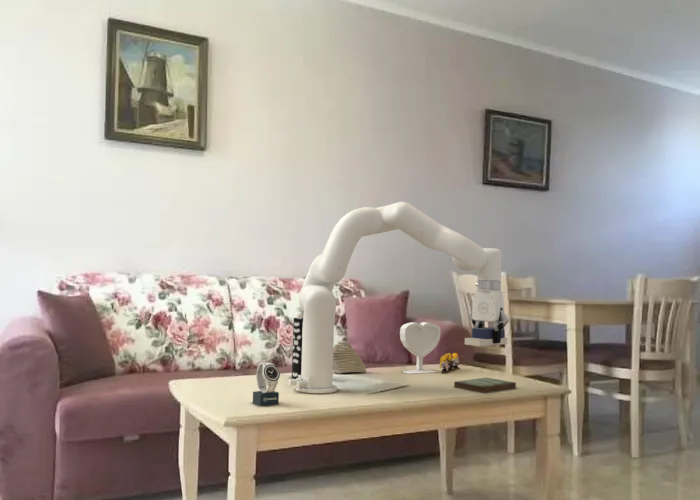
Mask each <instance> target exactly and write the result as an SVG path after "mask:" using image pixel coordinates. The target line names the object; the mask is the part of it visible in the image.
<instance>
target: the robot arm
mask: <svg viewBox="0 0 700 500" xmlns="http://www.w3.org/2000/svg"><path fill="white" fill-rule="evenodd" d="M397 230H400V231H401V232H402V233H404V234H405V235H407V236H409V237H410V238H411V239H413V240H415V241H416V242H418V243H419V244H421V245H422V246H424V247H426V248H428V249H431V250H434V251H439V252H441V253H444V254H447V255H449V256H451V261H452V264H453V265H454V266H455V267H456V268H457V269H459V270H461V271H477V277H476V278H477V280H476V282H475V283H474V284H475V285H474V286H475V287H476V289H475V290H474V294H473V299H472V305H471V306H472V307H471V309H472V310H471V313H470V314H469V316H468V319H469V320H470V321H471V323H472V325H473V326H474V327H473V328H484V325H485V322H487V323H492V326H493V328H494V329H495V331H493V343H500V342H501V331H502V330H503V329H505V327H506V325H507V324H508V323H509V322H510V318H509V317H508V316H507V314H506V313H505V298H504V293H503V291H502V250H501V249H500V248H496V247H495V248H493V247H482V246H480V245H479V244H477V243H476V242H474V241H473V240H471V239H470V238H468V237H467V236H464V235H463V234H461V233H459V232H457V231H455V230H453V229H451V228H449V227H448V226H446V225H443V224H441V223H439V222H437V221H436V220H435V219H433V218H432V217H430V216H429V215H427V214H426V213H424V212H423V211H421V210H420V209H418V208H417V207H415V206H414V205H412V204H411V203H408V202H406V201H398V202H394V203H391V204H387V205H383V206H379V207H372V206H364V207H359V208H355V209H353V210H351V211H349V212H347V213H345V214H344V215H343V216H342V217H341V218H340V219H339V220H338V221H337V222H336V223H335V225H334V227H333V228H332V230H331V233H330V234H329V237H328V240H327V242H326V244H325V247H324V248H323V251H322V253H321V254H319V255H317V256H316V257H315V258H314V259H313V261H312V262H311V264H310V267H309V269H308V270H307V271H308V272H307V274H306V276H305V279H304V282H303V284H302V287H301V289H300V292H299V295H298V303H299V307H300V308H301V310H302V311H303V316H302V318H303V329H302V366H301V375H298V378H296V379H292V378H289V379H287V385H288V387H294V386H295V390H296V391H297V392H300V393H305V394H331V393H335V392H337V391H338V386H337V385H336V384H333V380H334V379H333V377H334V376H333V374H334V371H333V347H334V343H335V342H334V340H335V339H334V338H335V337H334V336H335V334H334V333H335V320H336V319H335V318H336V310H337V300H336V296H335V295H334V293H333V290H334V287H335V284H336V283H339V282H340V281H342V280H343V278H344V277H345V275H346V272H347V269H348V266H349V264H350V262H351V258H352V255H353V253H354V250H355V249H356V246H357V245H358V242H359V241H360V240H361V239H362V238H363V237H366V236H372V235H377V234H378V235H379V234H383V233H387V232H391V231H397Z"/></svg>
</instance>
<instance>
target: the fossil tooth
mask: <svg viewBox="0 0 700 500" xmlns="http://www.w3.org/2000/svg"><path fill="white" fill-rule="evenodd" d="M366 372H367V367H366V364H365V363H364V361H363V360H362V358H361V357H360V355H359V354H358V353H357V352H356V351H355V349H354V347H353V346H352V345H351V343H350V342H348V341H346V340H340V341H337V344H334V345H333V373H335V374H339V375H340V374H344V373H361V374H362V373H363V374H364V373H366Z"/></svg>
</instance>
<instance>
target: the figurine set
mask: <svg viewBox="0 0 700 500" xmlns="http://www.w3.org/2000/svg"><path fill="white" fill-rule="evenodd" d="M459 362H460V361H459V353H458V352H453V353H452V354H451V352H448V353H444V355H441V357H440V360H439V368H440V370H441V374H446V373H450V372H453V371H457V370H460V369H461V368H460V367H459V366H460V363H459Z"/></svg>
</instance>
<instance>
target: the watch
mask: <svg viewBox="0 0 700 500" xmlns="http://www.w3.org/2000/svg"><path fill="white" fill-rule="evenodd" d="M281 375H282V374H281V371H280V368H279V367H277V365H275V364H274V363H271V362H270V361H269V362H268V361H267V362H260V363H259V364H258V366H257V368H256V374H255V378H256V386H257V388H258V389H259V390H257V391H256V390H255V391H252V404H253V405H256V406H259V407H266V406H276V405H279V400H280V399H279V398H280V393H279V392H278V391H275V390H276V388H277V385H278V383H279V379H280V377H281Z"/></svg>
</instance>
